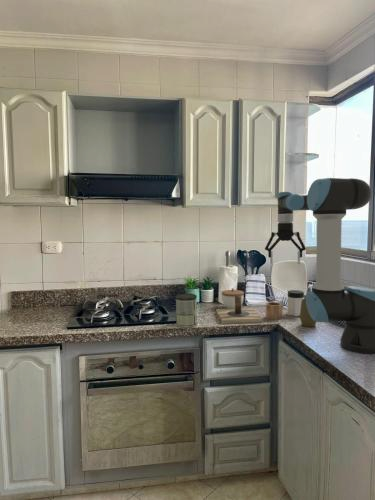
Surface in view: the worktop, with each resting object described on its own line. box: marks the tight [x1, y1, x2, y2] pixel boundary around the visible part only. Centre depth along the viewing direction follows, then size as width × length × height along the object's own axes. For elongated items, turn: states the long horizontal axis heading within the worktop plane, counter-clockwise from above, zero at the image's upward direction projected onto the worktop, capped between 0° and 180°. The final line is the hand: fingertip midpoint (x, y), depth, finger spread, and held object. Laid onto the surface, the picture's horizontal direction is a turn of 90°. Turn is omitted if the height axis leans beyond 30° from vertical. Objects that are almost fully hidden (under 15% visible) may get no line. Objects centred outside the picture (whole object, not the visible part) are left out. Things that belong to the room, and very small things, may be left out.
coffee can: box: [174, 293, 198, 328], centre depth 174 cm, size 10×10×14 cm
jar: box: [287, 289, 305, 317], centre depth 189 cm, size 9×8×12 cm
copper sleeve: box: [265, 301, 283, 321], centre depth 183 cm, size 8×8×7 cm
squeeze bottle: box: [299, 286, 317, 328], centre depth 169 cm, size 8×8×18 cm
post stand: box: [215, 296, 264, 325], centre depth 184 cm, size 20×20×11 cm
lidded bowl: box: [221, 288, 245, 309], centre depth 205 cm, size 13×13×11 cm
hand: (285, 263), depth 186 cm, fingers open, 13 cm apart
